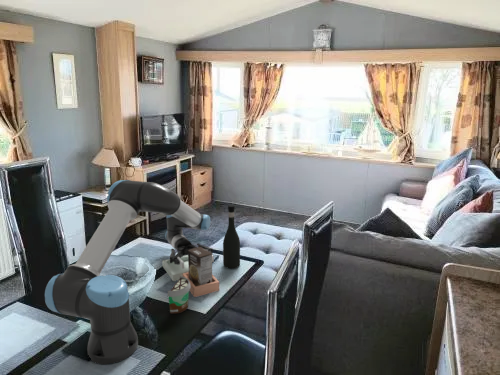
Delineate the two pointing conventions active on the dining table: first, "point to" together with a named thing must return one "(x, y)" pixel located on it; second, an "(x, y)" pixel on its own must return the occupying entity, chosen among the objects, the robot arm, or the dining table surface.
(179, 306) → the food container
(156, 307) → the dining table surface
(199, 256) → the coffee box
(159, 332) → the dining table surface
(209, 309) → the dining table surface
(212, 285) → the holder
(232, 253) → the wine bottle
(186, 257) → the tray
